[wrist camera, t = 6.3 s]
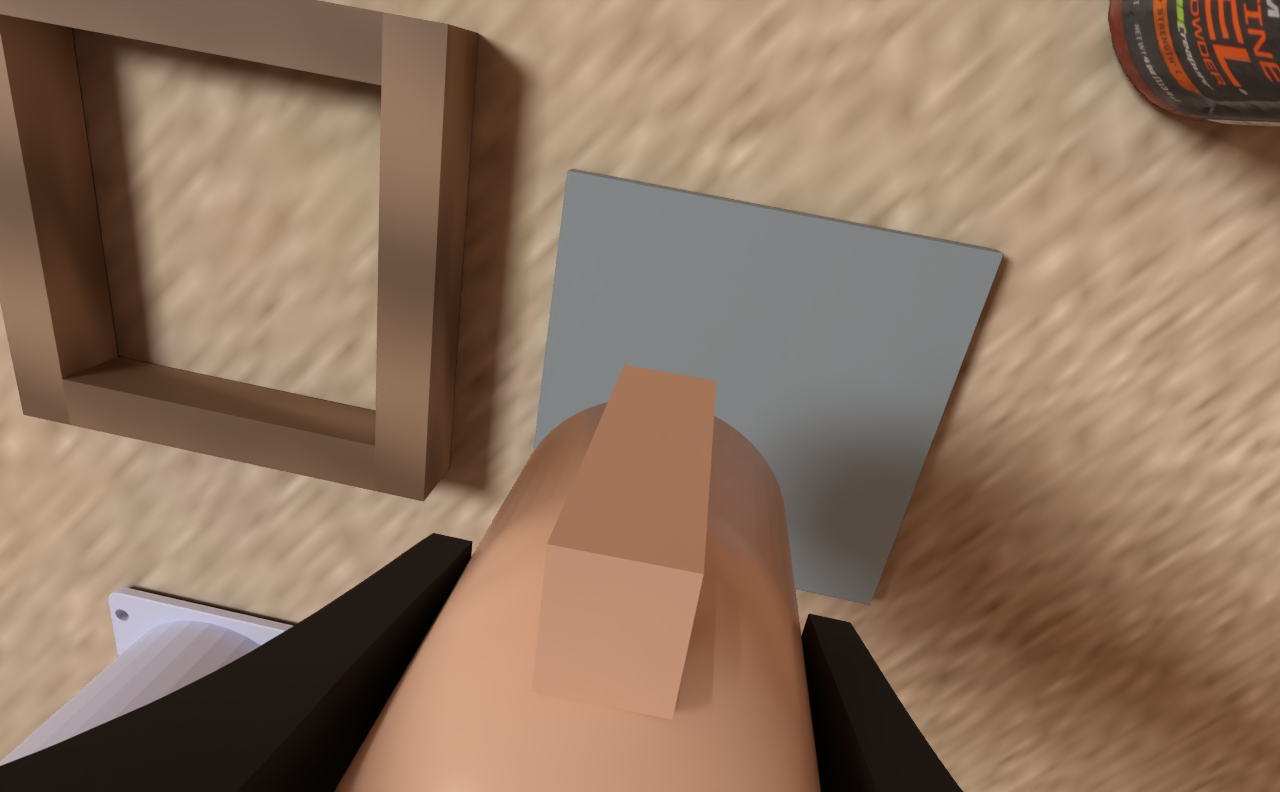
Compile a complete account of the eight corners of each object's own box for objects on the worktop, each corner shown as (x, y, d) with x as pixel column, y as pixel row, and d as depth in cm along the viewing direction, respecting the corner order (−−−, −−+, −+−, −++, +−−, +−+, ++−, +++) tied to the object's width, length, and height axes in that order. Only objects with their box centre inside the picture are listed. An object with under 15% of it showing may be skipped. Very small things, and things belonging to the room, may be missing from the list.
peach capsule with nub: (755, 652, 14) (778, 1281, 6) (508, 603, 14) (260, 1149, 7) (837, 343, 11) (1036, 798, 4) (534, 291, 11) (172, 620, 4)
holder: (449, 468, 22) (423, 501, 20) (80, 389, 23) (23, 414, 21) (478, 33, 17) (448, 24, 15) (6, -53, 18) (-78, -72, 16)
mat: (866, 592, 22) (870, 605, 21) (529, 519, 22) (523, 529, 22) (995, 249, 18) (1003, 253, 17) (572, 168, 18) (567, 170, 18)
